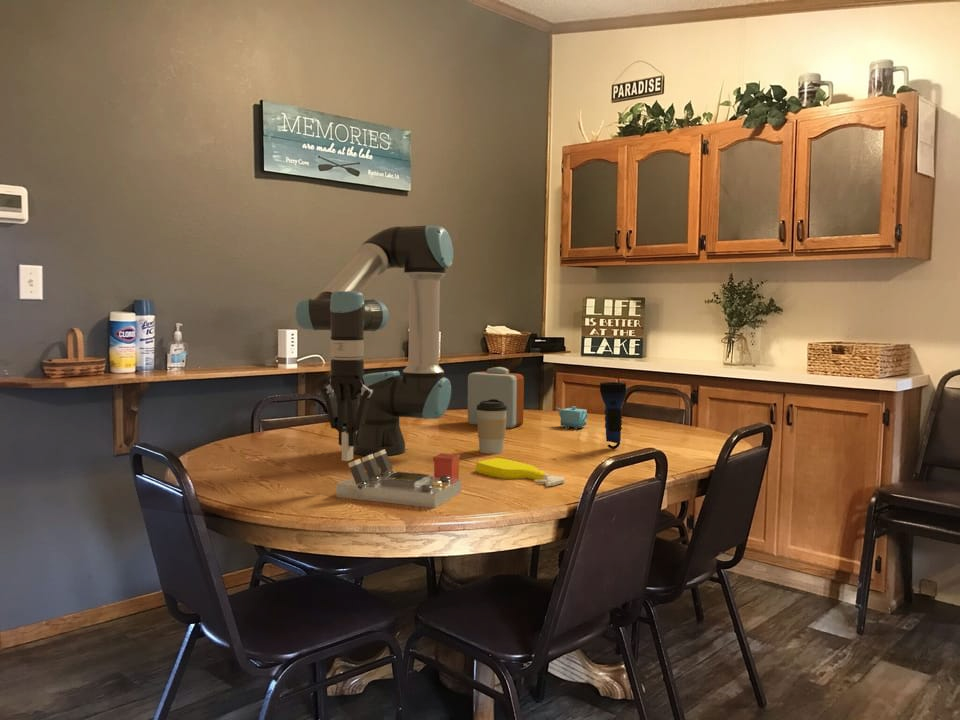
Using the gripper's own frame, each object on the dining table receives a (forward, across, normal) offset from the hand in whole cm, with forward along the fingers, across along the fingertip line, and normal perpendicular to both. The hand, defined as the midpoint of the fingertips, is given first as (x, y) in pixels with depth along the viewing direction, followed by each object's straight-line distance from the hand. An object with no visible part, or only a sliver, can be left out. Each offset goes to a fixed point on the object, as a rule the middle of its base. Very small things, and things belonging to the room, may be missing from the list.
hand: (347, 459), depth 181 cm
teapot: (+7, +26, +108) cm, 111 cm away
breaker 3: (+4, +7, +6) cm, 10 cm away
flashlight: (+7, +47, +74) cm, 88 cm away
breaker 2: (+4, +8, 0) cm, 8 cm away
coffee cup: (+7, +15, +56) cm, 59 cm away
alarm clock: (+7, 0, +102) cm, 102 cm away
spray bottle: (+8, +33, +28) cm, 44 cm away
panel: (+7, +14, 0) cm, 15 cm away
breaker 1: (+4, +8, -6) cm, 10 cm away
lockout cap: (+7, +19, +13) cm, 24 cm away
